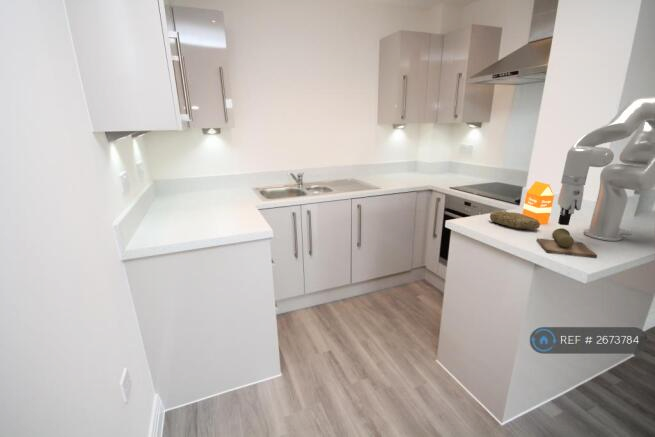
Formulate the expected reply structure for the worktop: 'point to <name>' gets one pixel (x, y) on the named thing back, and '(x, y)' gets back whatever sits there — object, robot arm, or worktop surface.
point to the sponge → (514, 220)
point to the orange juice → (539, 202)
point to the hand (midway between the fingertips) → (563, 224)
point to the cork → (563, 237)
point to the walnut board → (575, 249)
